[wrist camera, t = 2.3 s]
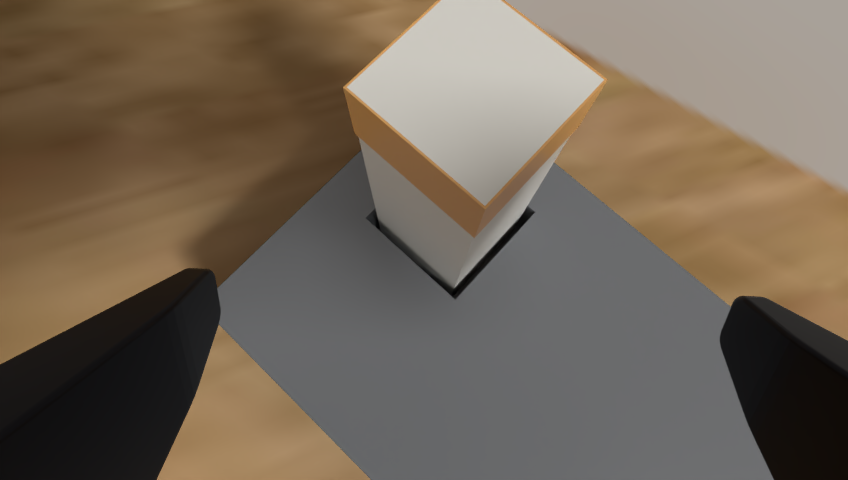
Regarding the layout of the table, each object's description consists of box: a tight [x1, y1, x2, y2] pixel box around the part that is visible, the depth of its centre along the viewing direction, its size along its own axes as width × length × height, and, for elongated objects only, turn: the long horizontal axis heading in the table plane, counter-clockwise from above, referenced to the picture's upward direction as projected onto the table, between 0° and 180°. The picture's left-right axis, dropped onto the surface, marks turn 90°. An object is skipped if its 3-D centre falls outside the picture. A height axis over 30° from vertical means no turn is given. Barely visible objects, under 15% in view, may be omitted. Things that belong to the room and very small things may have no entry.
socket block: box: [217, 150, 774, 480], centre depth 19 cm, size 20×12×3 cm, turn 47°
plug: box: [343, 0, 608, 296], centre depth 16 cm, size 4×4×11 cm
